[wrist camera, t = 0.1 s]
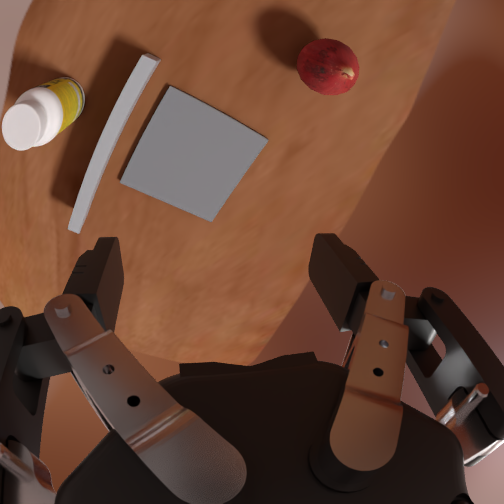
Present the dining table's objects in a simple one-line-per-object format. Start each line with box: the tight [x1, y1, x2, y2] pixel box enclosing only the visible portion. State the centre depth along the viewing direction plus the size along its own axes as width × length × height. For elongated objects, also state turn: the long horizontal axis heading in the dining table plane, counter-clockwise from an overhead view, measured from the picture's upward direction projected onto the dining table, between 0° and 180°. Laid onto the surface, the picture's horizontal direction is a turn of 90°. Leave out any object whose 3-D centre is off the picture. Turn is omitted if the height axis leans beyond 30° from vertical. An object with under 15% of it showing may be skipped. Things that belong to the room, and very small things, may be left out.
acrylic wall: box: [68, 53, 161, 233], centre depth 27 cm, size 20×2×4 cm, turn 146°
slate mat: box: [120, 85, 268, 222], centre depth 32 cm, size 12×12×1 cm
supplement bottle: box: [2, 77, 85, 150], centre depth 21 cm, size 5×5×10 cm
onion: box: [297, 38, 359, 95], centre depth 24 cm, size 6×6×8 cm
